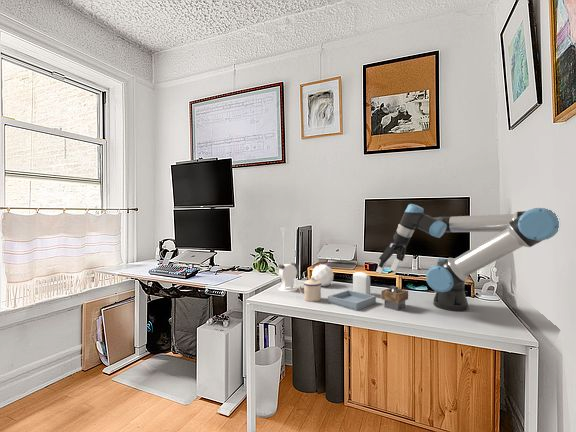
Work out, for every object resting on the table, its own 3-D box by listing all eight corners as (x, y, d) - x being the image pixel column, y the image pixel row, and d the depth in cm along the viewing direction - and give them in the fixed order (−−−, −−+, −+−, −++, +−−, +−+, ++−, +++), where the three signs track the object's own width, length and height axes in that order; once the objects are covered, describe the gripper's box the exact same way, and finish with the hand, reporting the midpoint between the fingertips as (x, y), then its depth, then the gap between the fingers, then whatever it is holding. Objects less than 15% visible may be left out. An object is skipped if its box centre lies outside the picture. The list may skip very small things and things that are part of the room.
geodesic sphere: (321, 281, 183) (329, 260, 189) (303, 277, 193) (311, 258, 198) (332, 292, 192) (340, 272, 197) (315, 288, 201) (323, 269, 207)
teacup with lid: (323, 298, 168) (323, 276, 168) (317, 302, 160) (317, 280, 160) (302, 295, 173) (302, 274, 173) (296, 300, 165) (296, 277, 165)
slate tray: (375, 303, 159) (375, 296, 159) (356, 310, 148) (356, 303, 147) (347, 296, 172) (347, 289, 171) (328, 303, 160) (328, 296, 160)
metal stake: (405, 307, 152) (405, 286, 152) (398, 310, 147) (398, 289, 147) (391, 304, 157) (391, 284, 157) (384, 307, 152) (384, 286, 152)
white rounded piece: (289, 285, 196) (289, 261, 195) (302, 289, 187) (301, 264, 186) (274, 288, 188) (274, 263, 188) (286, 292, 179) (286, 266, 179)
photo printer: (351, 293, 178) (351, 271, 178) (356, 291, 181) (356, 270, 180) (366, 297, 170) (366, 274, 170) (371, 295, 173) (371, 273, 172)
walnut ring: (408, 299, 152) (408, 290, 152) (399, 303, 146) (399, 294, 146) (388, 294, 160) (388, 287, 160) (378, 298, 153) (378, 290, 153)
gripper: (409, 230, 166) (392, 265, 172) (383, 230, 149) (366, 269, 155) (421, 237, 161) (404, 273, 167) (396, 238, 144) (378, 277, 150)
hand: (385, 271), depth 161 cm, fingers open, 13 cm apart
